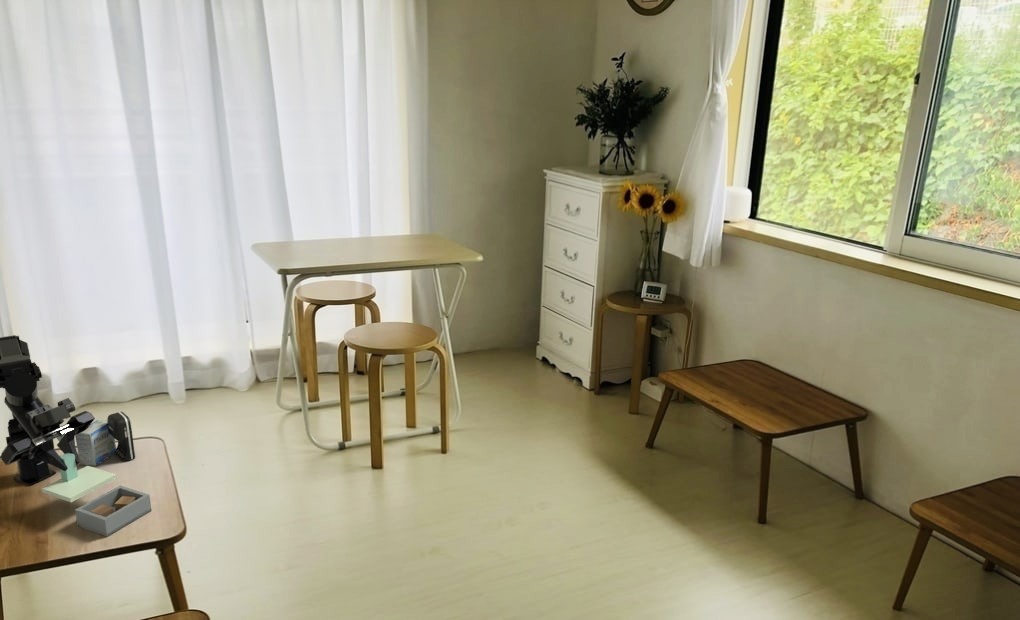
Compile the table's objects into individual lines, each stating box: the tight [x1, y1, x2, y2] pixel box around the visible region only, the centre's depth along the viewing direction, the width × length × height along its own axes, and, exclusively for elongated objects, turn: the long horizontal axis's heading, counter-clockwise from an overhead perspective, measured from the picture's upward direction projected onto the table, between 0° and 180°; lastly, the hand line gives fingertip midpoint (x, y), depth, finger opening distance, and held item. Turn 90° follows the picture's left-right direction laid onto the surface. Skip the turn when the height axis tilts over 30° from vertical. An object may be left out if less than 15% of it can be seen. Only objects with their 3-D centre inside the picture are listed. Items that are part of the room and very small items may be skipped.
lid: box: [41, 453, 117, 503], centre depth 162 cm, size 9×11×6 cm
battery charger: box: [106, 411, 136, 462], centre depth 185 cm, size 7×4×11 cm, turn 45°
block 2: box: [115, 496, 136, 511], centre depth 161 cm, size 3×3×3 cm
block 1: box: [90, 505, 114, 517], centre depth 158 cm, size 3×3×3 cm
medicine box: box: [75, 419, 117, 467], centre depth 184 cm, size 8×4×9 cm, turn 170°
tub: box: [74, 485, 153, 538], centre depth 160 cm, size 9×11×4 cm
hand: (72, 467), depth 162 cm, fingers closed on lid, 2 cm apart
